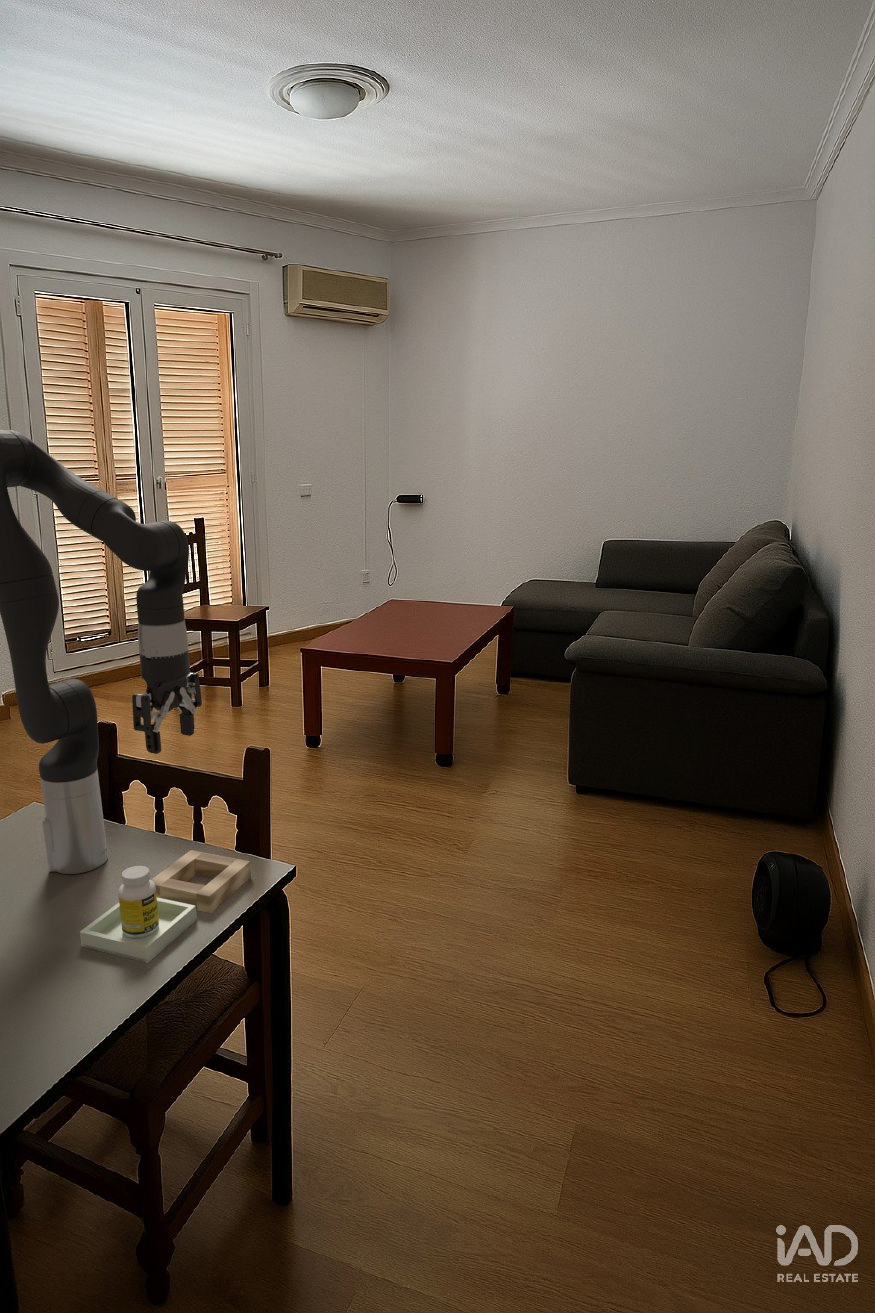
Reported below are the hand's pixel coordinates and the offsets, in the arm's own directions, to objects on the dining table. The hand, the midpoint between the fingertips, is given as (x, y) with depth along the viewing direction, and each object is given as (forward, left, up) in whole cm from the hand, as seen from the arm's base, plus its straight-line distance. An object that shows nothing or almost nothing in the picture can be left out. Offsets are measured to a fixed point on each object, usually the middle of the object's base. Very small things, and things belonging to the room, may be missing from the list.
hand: (171, 743), depth 144 cm
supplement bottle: (-5, -16, -24) cm, 29 cm away
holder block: (+3, -4, -25) cm, 25 cm away
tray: (-5, -16, -25) cm, 30 cm away
